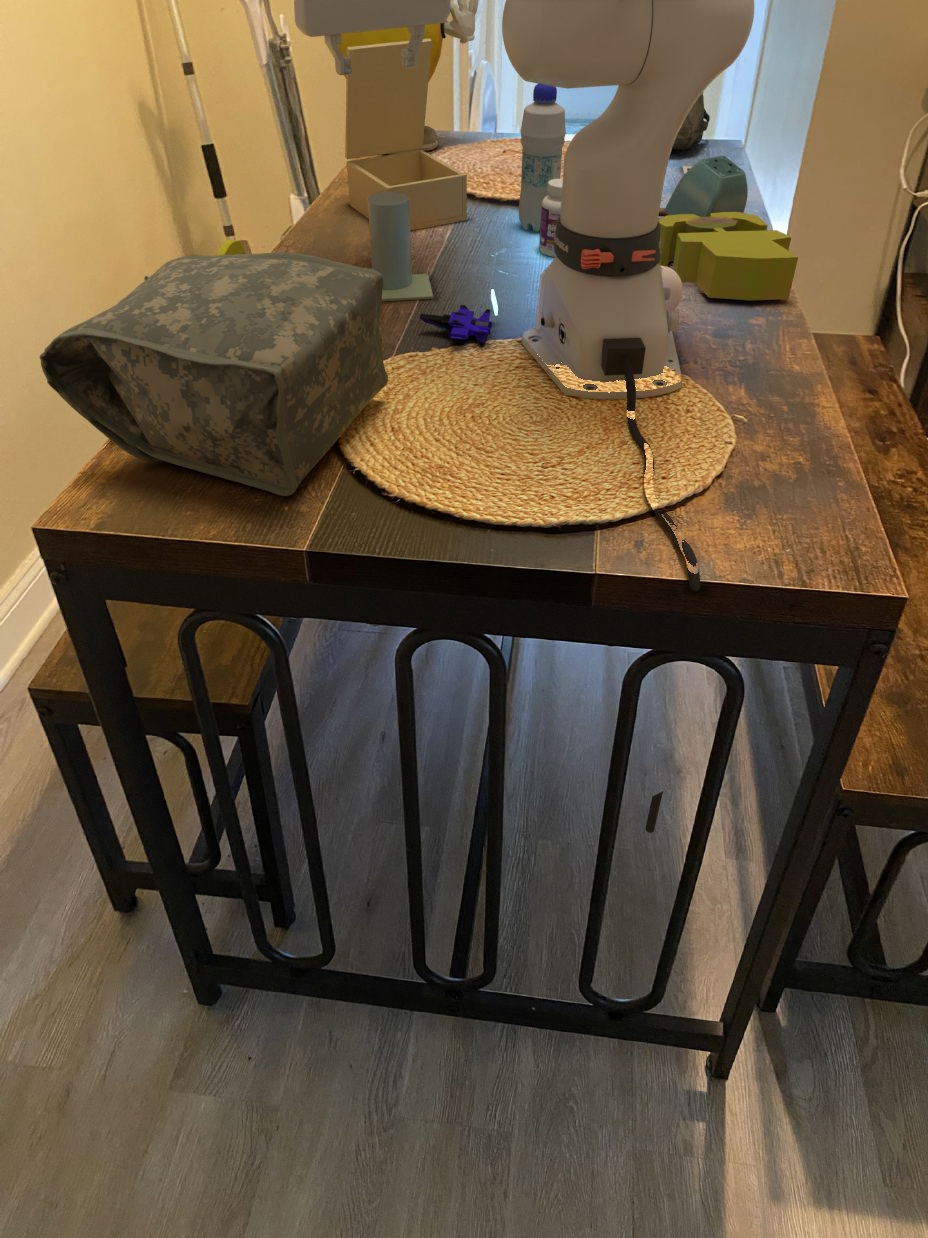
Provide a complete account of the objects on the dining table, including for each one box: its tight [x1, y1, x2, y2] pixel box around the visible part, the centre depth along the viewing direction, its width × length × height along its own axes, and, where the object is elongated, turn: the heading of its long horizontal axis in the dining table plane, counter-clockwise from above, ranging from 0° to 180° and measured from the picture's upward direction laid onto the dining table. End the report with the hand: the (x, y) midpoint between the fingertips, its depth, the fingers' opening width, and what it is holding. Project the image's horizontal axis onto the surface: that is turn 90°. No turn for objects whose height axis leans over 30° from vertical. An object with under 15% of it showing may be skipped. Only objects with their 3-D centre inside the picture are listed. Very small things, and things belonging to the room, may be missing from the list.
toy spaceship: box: [419, 304, 493, 348], centre depth 114 cm, size 10×9×2 cm
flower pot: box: [664, 155, 749, 217], centre depth 138 cm, size 9×9×9 cm
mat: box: [382, 273, 434, 302], centre depth 125 cm, size 8×10×1 cm
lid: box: [344, 39, 432, 160], centre depth 143 cm, size 16×14×5 cm
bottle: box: [518, 83, 567, 233], centre depth 137 cm, size 7×7×20 cm
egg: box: [661, 266, 683, 311], centre depth 116 cm, size 6×6×8 cm
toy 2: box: [658, 212, 799, 301], centre depth 126 cm, size 16×6×20 cm
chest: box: [346, 150, 468, 232], centre depth 146 cm, size 16×14×7 cm
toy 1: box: [337, 0, 479, 155], centre depth 171 cm, size 27×24×30 cm
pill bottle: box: [538, 178, 563, 258], centre depth 133 cm, size 5×5×10 cm
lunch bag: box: [39, 251, 389, 497], centre depth 93 cm, size 22×16×27 cm
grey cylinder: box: [367, 192, 413, 290], centre depth 123 cm, size 7×5×11 cm
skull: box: [672, 92, 711, 151], centre depth 175 cm, size 20×18×20 cm
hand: (377, 69), depth 119 cm, fingers open, 8 cm apart
